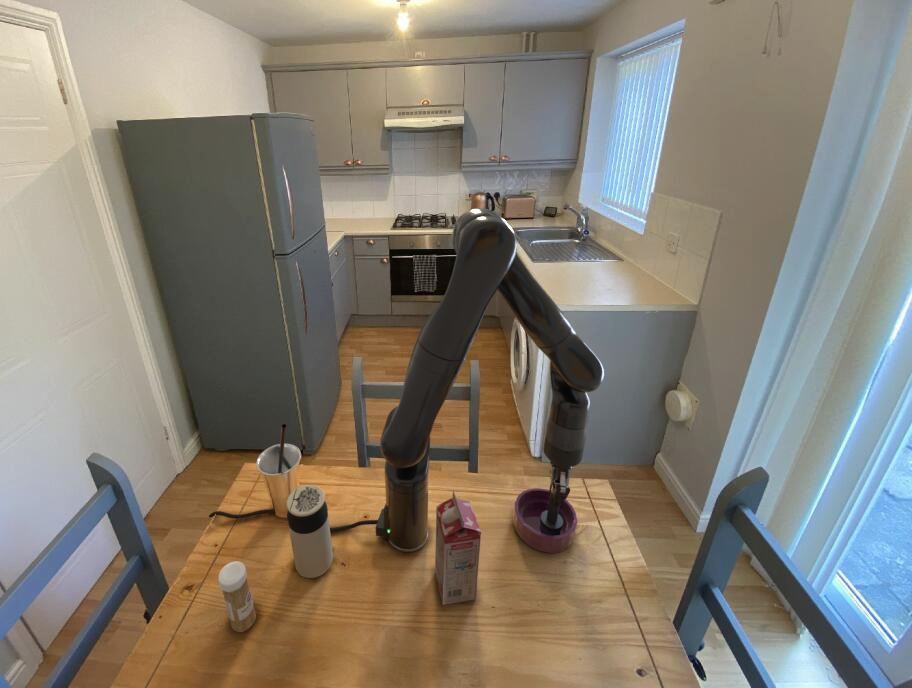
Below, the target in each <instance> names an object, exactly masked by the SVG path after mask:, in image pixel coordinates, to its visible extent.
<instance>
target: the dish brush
mask: <svg viewBox="0 0 912 688" xmlns="http://www.w3.org/2000/svg"><path fill="white" fill-rule="evenodd" d="M550 498H551V495H550ZM558 513H559V507H557V506H552V505H551V504H550V501H549V507H548V510H546V511H544V512H542V514H541V517H540V531H541V533H542V534H545V535H550V536H556V535H560V532H561V529H562V527H563V519H562V517H561V516H560V515H559V514H558Z"/></svg>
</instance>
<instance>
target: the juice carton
mask: <svg viewBox="0 0 912 688" xmlns="http://www.w3.org/2000/svg"><path fill="white" fill-rule="evenodd" d="M435 510H436V511H435V512H436V513H435V555H434V556H435V557H434V558H435V560H434V574H435V578H436V583H437V587H438V591H439V594H440V595H439V596H440V599H441V603H442V605H444V606H445V605H450V604H455V603H461V602H469V601H472V600H473V601H474V600H476V599H477V598H476V597H477V587H478V575H479V562H480V551H481V550H480V549H481V536H482V530H481V528H480V525H479V523H478V520H477V517H476V514H475V512H474V509H473V506H472V503H471V501H469V500H466V499H461V498H457V497H456V494H455V491H454V490H453V491H452V497H451V498H449V499H447V500H445V501H443V502H441V503H439V504H438V505H436V508H435Z"/></svg>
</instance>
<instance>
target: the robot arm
mask: <svg viewBox="0 0 912 688" xmlns="http://www.w3.org/2000/svg"><path fill="white" fill-rule="evenodd" d="M451 234H452V235H451V241H452V246H453V249H454V252H455V261H454V265H453V269H452V273H451V276H450V279H449V282H448V285H447V288H446V290H445V293H444V295H443V297H442V299H441V301H440V302H439V303H438V304H437V306H436V308H434V309H433V311H432V312H431V314H430V315H429V316H428V317H427V319H426V320H425V322H424V323H423V325H422V327H421V329H420V331H419V333H418V336H417V338H416V341H415V343H414V346H413V349H412V352H411V355H410V359H409V361H408V365H407V369H406V373H405V377H404V381H403V386H402V390H401V395H400V399H399V403H398V404H397V405H396V406H395V407H394V408H393V409H391V410H390V411H389V413H388V414H387V416H386V419H385V423H384V425H383V429H382V432H381V436H380V443H379V444H380V445H379V446H380V451H381V454H382V457H383V458H384V460H385V463H384V483H385V484H384V487H385V488H384V490H385V504H384V507H383V508H381V510H380V514H379V516H378V518H377V519H365V520H359V521H356V522H353V523H351V524H345V525H341V526H334V527H330V533H334V532H335V533H336V532H341V531H347V530H351V529H354V528H357V527H360V526H365V525H375V536H376V537H379V538H384V542H387V543H389V545H390V546H391V547H392V548H393V549H395V550H396V551H398V552H401V553H413V552H417V551H419V550H420V549H422V548H424V547H425V544H426V543H427V541H428V538H429V471H430V457H431V456H430V455H431V434H432V430H433V428H434V424H435V421H436V420H437V417H438V414H439V413H440V411H441V409H442V407H443V406H444V404H445V402H446V400H447V398H448V396H449V394H450V393H451V390H452V388H453V386H454V384H455V382H456V380H457V378H458V376H459V374H460V372H461V370H462V368H463V366H464V364H465V361H466V359H467V356H468V354H469V352H470V349H471V347H472V344H473V342H474V340H475V337H476V335H477V332H478V330H479V327H480V325H481V323H482V320H483V318H484V315H485V312H486V310H487V309H488V307H489V305H490V303H491V301H492V300H493V298H494V296H495V294H496V292H497V291H498V293H499V294H500V296H501V297H502V299H503V300H504V302H505V304H506V305H507V307H508V308H509V309H510V311H511V313H512V314H513V316H514V318H515V319H516V321H517V322H518V323H519V325H520V327H522V329H523V330H524V332H525V333H526V335H527V336H528V337H529V338H530V340H531V341H532V342H533V343H534V344H535V346H536V347H537V348H538V349H539V350H540V351H541V352H542V353H543V354H544V355H545V356H546V357H547V358H548V360H550V362H549V374H550V375H549V376H550V388H551V394H552V398H551V401H550V409H549V416H548V419H547V422H546V428H545V434H544V435H545V436H544V441H543V449H542V450H543V453H544V455H545V457H546V458H547V459H548V460H549V474H550V475H549V480H550V483H549V489H548V490H549V494H550V495H551V498H550V504H551V505H552V506H557V507H560V506H561V503H562V499H563V500H567V499H568V496H569V494H570V492H571V488H570V486H569V484H570V478H571V477H572V473H573V467H576V466H578V465H579V464H581V462H582V459H583V456H584V451H585V446H586V440H587V436H588V435H587V434H588V422H589V417H590V411H591V400H590V397H589V394H588V393H591V392H592V393H593V392H594V391H596V390H598V389H599V388H600V387H601V386H602V384H603V382H604V380H605V368H604V365H603V364H602V362H601V360H600V359H599V358H598V356H597V355H596V353H594V352H593V351H592V350H591V349H590V347H589V346H588V345H587V344H586V343H585V342H584V340H583V339H582V338H581V337H580V336H579V335H578V333H577V332H576V330H575V328H574V327H573V325H572V324H571V322H570V321H569V320H568V318H567V317H566V316H565V314H564V312H563V311H562V310H561V308H560V307H559V306H558V305H557V303H556V301H554V300H553V298H552V297H551V296H550V295H549V294H548V293H547V292H546V290H545V289H544V288H543V286H542V285H541V284H540V283H539V282H538V280H537V279H536V278H535V277H534V276H533V275H532V273H531V272H530V270H529V269H528V268H527V267H526V265H525V263H524V262H523V261H522V259H521V257H520V256H519V254H518V252H517V251H518V239H517V236H516V234H515V231H514V230H513V228H512V227H511V225H509V223H508V222H507V221H506V220H505V218H503V217H502V216H501V215H499V214H498V213H497V212H495V211H493V210H491V209H487V208H484V207H483V208H482V207H481V208H480V207H479V208H478V207H477V208H472V209H468V210H467V211H465V212H464V213H462V214H461V215H460V216H459V217H458V218H457V220H456V221H455V223H454V225H453V229H452V233H451ZM215 514H216V515H215ZM265 514H273V515H275V514H276V513H275V511H274V510H273V508H272V509H270V508H269V509H268V508H267V509H266V508H265V509H261V510H260V509H259V510H255V511H252V512H247V513H241V514H240V513H239V514H235V513H230V512H226V511H221V510H215V511H212V512H211V513H210V514H209V515H208V518H214V517H215V516H221V517H225V518H230V519H235V520H236V519H237V520H239V519H245V518H250V517H255V516H258V515H265Z"/></svg>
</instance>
